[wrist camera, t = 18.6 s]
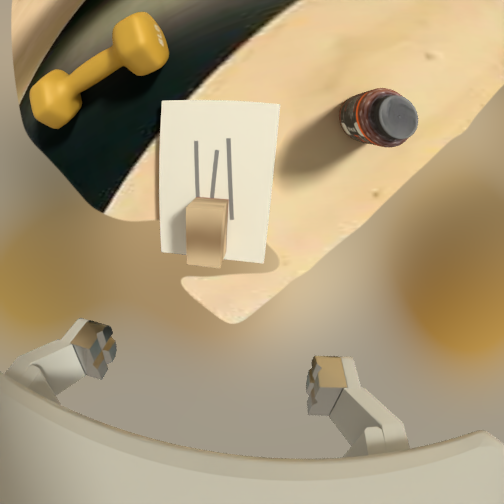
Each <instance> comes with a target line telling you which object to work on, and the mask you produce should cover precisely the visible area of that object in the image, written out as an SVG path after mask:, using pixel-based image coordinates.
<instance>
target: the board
mask: <svg viewBox="0 0 504 504" xmlns="http://www.w3.org/2000/svg"><path fill="white" fill-rule="evenodd" d="M279 112H280V104H272V103H260V102H246V101H226V100H173V101H162V108H161V125H160V154H159V208H160V235H161V236H160V237H161V252H165V253H174V254H182V255H186V207H187V206H188V205H189V204H190V203H191V202H192V201H193V200H194V199H195V198H196V197H205V198H219V199H229V203H228V223H227V245H226V254H225V256H224V259H226V260H236V261H245V262H253V263H264V257H265V247H266V239H267V230H268V221H269V211H270V202H271V192H272V183H273V173H274V163H275V153H276V143H277V133H278V123H279Z"/></svg>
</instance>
